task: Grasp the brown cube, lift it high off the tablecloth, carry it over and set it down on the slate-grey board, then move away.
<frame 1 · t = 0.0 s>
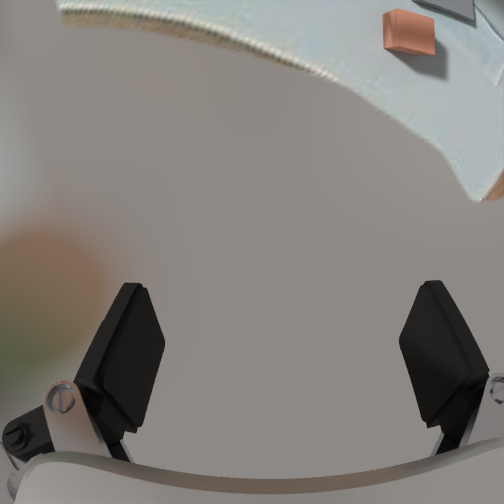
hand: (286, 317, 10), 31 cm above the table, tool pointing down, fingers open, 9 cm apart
brown cube: (400, 34, 26), on the table
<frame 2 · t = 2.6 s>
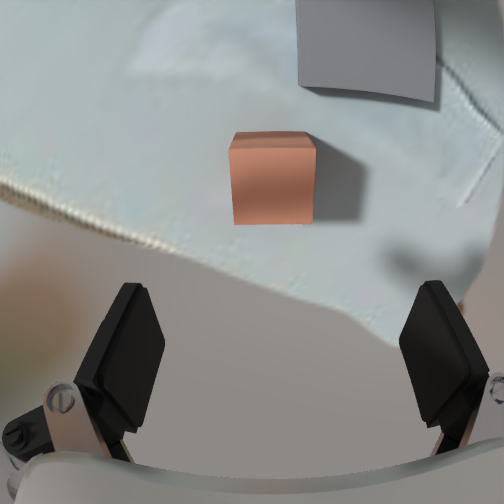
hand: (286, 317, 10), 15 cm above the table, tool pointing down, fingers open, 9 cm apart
brown cube: (271, 163, 22), on the table
slate board: (365, 15, 14), on the table
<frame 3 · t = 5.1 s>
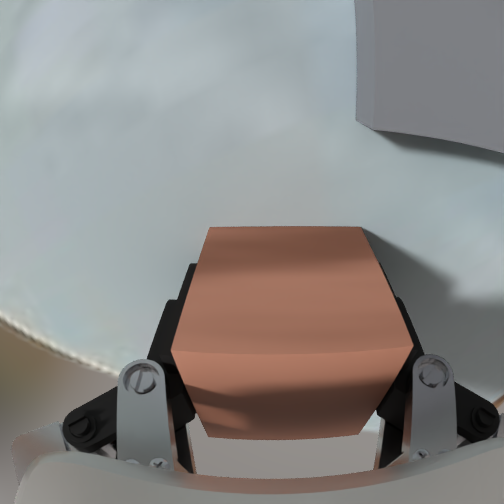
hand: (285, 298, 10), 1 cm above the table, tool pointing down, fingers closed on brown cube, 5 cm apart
brown cube: (284, 285, 11), on the table, touching gripper
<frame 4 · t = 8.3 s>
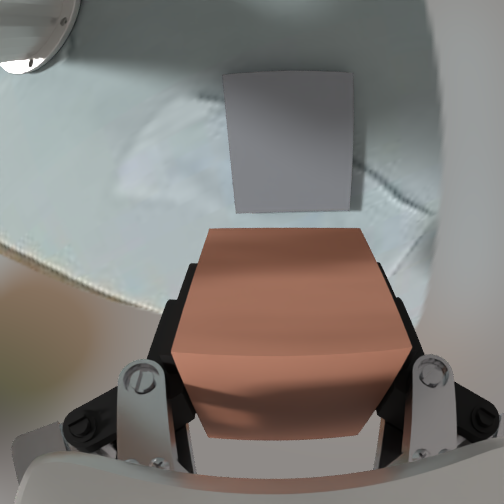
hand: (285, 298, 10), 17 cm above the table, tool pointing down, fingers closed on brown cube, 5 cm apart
brown cube: (284, 287, 11), point 16 cm above the table, touching gripper
slate board: (290, 140, 24), on the table
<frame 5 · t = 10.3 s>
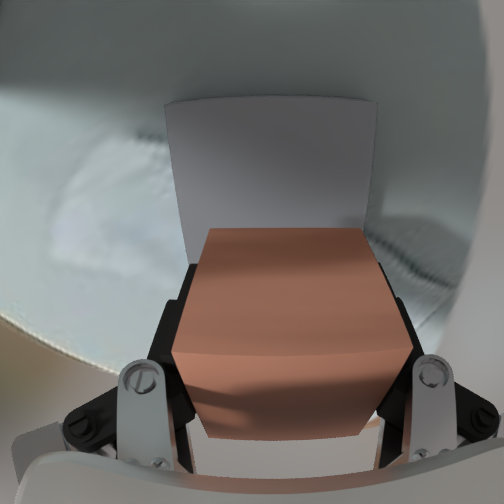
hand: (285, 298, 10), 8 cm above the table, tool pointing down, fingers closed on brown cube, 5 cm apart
brown cube: (284, 286, 11), point 7 cm above the table, touching gripper
slate board: (273, 202, 17), on the table
when the fingers open (4 cm above the table, at t = 11.8 s): brown cube drops 2 cm, resting on slate board.
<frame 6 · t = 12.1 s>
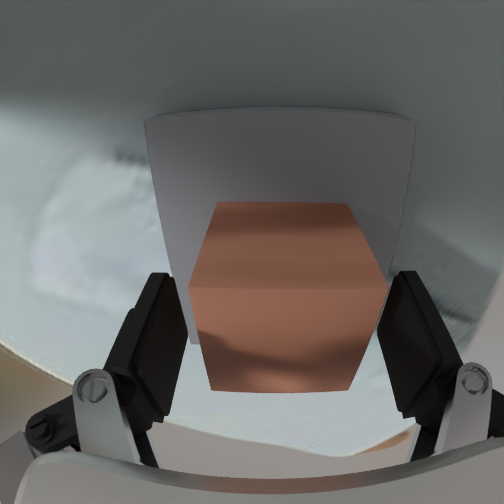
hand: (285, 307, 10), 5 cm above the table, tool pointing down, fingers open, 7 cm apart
brown cube: (281, 256, 13), point 1 cm above the table, touching slate board
slate board: (281, 238, 14), on the table
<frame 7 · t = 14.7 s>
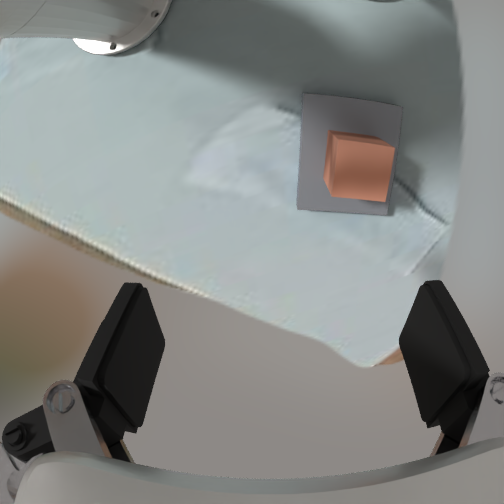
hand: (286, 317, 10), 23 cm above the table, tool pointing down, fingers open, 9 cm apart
brown cube: (350, 157, 27), point 1 cm above the table, touching slate board
slate board: (347, 153, 28), on the table
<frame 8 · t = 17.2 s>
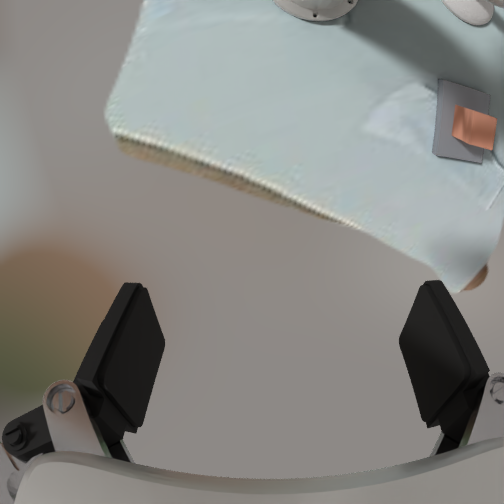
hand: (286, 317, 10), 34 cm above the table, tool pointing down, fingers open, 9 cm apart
brown cube: (465, 123, 33), point 1 cm above the table, touching slate board
slate board: (460, 121, 34), on the table
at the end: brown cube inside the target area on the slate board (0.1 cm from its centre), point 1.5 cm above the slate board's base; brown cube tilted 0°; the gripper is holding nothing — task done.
